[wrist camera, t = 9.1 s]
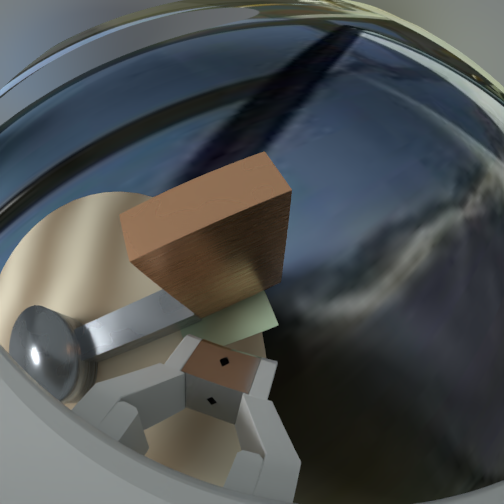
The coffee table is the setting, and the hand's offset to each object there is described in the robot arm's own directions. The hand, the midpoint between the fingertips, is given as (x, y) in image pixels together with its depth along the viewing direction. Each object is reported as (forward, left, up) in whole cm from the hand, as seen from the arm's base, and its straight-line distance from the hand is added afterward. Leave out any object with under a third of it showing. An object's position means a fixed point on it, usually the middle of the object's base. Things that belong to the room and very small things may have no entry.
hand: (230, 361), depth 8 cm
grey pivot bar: (-8, -2, -3) cm, 9 cm away
